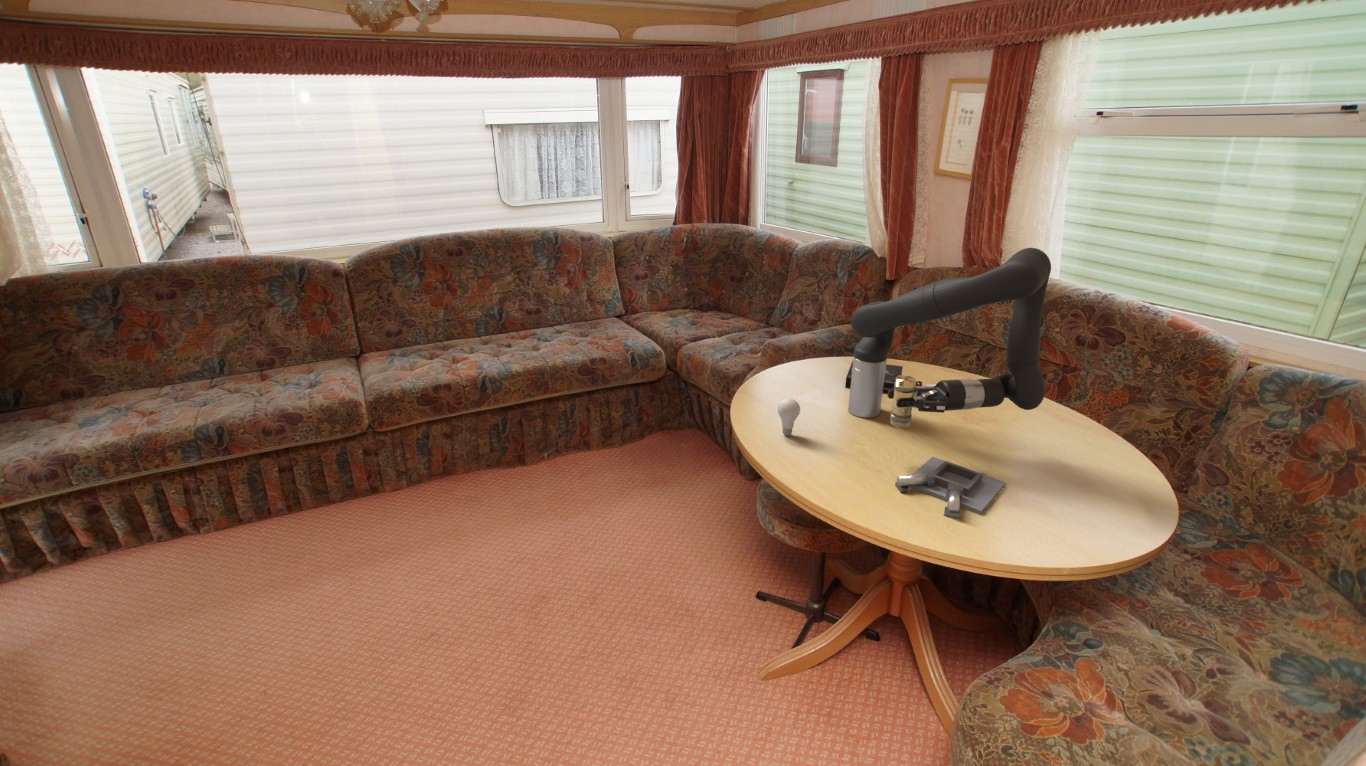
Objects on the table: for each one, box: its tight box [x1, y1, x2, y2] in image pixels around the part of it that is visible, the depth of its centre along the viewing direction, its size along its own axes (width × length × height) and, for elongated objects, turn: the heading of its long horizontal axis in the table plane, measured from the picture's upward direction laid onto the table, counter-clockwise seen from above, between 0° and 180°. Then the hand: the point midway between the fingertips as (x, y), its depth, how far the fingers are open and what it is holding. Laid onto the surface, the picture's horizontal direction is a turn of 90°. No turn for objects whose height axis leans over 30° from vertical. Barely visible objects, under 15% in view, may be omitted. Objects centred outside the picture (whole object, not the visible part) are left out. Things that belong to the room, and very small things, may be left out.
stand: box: [908, 456, 1007, 516], centre depth 149 cm, size 16×18×3 cm
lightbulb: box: [776, 397, 801, 437], centre depth 172 cm, size 6×6×11 cm
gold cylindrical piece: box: [889, 374, 917, 429], centre depth 154 cm, size 5×5×12 cm
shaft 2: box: [943, 483, 963, 519], centre depth 141 cm, size 8×3×4 cm, turn 156°
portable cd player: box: [844, 360, 903, 394], centre depth 208 cm, size 16×17×4 cm
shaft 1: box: [894, 470, 936, 494], centre depth 148 cm, size 8×3×4 cm, turn 96°
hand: (893, 398), depth 153 cm, fingers closed on gold cylindrical piece, 4 cm apart
